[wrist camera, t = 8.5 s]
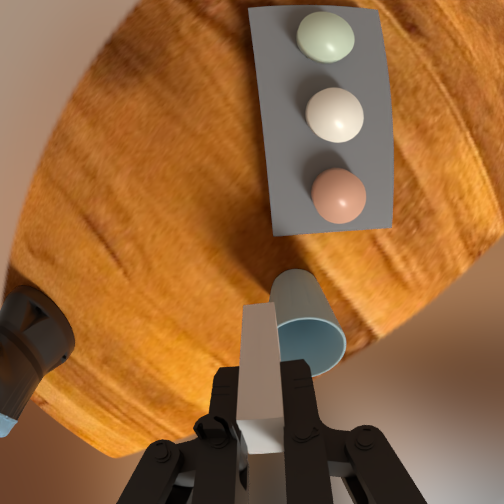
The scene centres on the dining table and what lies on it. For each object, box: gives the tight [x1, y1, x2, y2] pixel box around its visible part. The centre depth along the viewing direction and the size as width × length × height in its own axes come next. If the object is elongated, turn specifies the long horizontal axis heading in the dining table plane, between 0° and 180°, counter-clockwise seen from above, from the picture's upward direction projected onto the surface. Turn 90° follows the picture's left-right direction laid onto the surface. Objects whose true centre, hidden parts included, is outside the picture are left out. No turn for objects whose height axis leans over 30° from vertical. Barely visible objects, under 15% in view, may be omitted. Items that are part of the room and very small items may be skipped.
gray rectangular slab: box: [248, 5, 394, 236], centre depth 24 cm, size 12×22×3 cm, turn 6°
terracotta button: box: [311, 168, 366, 224], centre depth 26 cm, size 5×5×4 cm
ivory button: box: [305, 88, 364, 143], centre depth 23 cm, size 5×5×4 cm
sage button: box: [296, 12, 355, 64], centre depth 20 cm, size 5×5×4 cm
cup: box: [269, 269, 346, 377], centre depth 29 cm, size 8×8×10 cm
